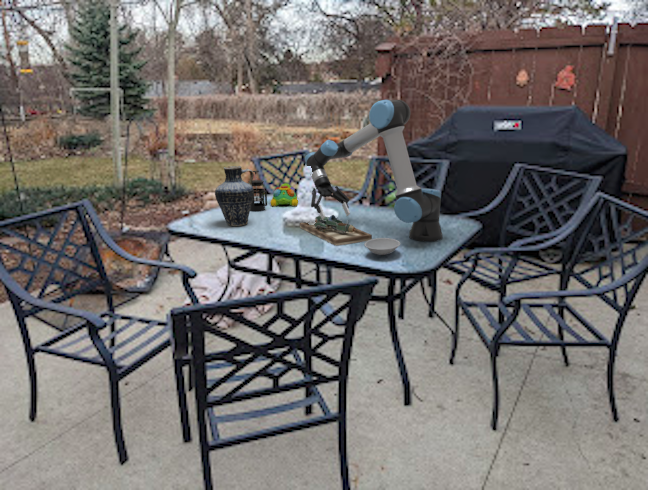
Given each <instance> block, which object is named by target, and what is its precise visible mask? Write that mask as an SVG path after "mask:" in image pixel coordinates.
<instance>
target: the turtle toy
mask: <svg viewBox="0 0 648 490" xmlns="http://www.w3.org/2000/svg"><path fill="white" fill-rule="evenodd" d="M295 191H296V189H295V188H294V187H293V186H291V185H290V184H289V183H283V184H281V185H280V186H277V187H276V188H274V191H273V196H272V198H271V199H270V201H269V202H270V206H271V207H278V206H279V205H289V206H291V207H298V205H299V201H298V200H297V197H298V196H297V194H296V192H295Z"/></svg>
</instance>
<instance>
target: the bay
mask: <svg viewBox="0 0 648 490" xmlns="http://www.w3.org/2000/svg"><path fill="white" fill-rule="evenodd" d="M299 228H300V229H302V230H303V231H306V232H308V233H310V234H311V235H314V236H316V237H317V238H319V239H322V240H324V241H326V242H327V243H329V244H331V245H333V246H335V247H337V246H343V245H345V246H346V245H350V244H356V243H362V242H363V243H365V242H366V241H368V240H371V239H373V235H372V234H370V233H368V232H365V231H363V230H361V229H359V228H356V227H355V231H354V232H352V233H350V232H349V233H348V232H346V234H345V232H344V233H343V232H342V233H341V234H340V233H339V232H341V231H337V230H335V231H334V229H333V228H331V226H330V227H327V228H326V231H324V230H323V228H320V230H317V229H316V227H315V226H314V225H309V224H308V223H303V222H300V223H299Z"/></svg>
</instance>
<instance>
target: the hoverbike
mask: <svg viewBox="0 0 648 490" xmlns="http://www.w3.org/2000/svg"><path fill="white" fill-rule="evenodd" d="M314 219H315V220H314V221H315V222H316V223H315V224H314V226H315V227H316V229H317V230H320V228H323V230H324V231H326V228H327V227H330V226H331V228H333V229H334V231H335V230H337V231H341V232H339V233H340V234H341V233H342V232H343V233H344V232H345V234H346V232H348V233H349V232H350V233H352V232H354V231H355V228H356V227H355V225H353V224H349V223H350V222H349V220H348V219H347V221H346V223H345V222H343V220H341V219H338V218H337V217H336V216H335V215H334V214H332V215H330V216H325V218H324V219H323V220H322V218H321V216H320V214H318V215H317V216H315V218H314Z"/></svg>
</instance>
